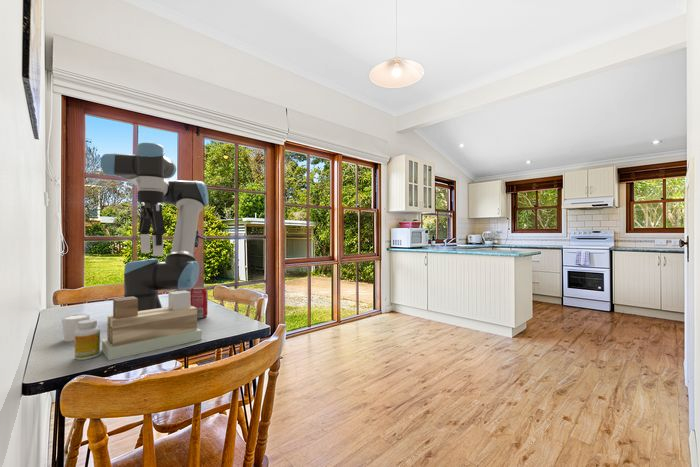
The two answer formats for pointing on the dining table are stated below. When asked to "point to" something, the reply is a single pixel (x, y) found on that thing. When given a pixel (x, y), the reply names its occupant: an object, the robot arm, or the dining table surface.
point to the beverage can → (200, 300)
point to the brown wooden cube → (125, 307)
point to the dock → (149, 344)
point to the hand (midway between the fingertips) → (151, 254)
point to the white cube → (179, 300)
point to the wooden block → (150, 325)
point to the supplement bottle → (87, 340)
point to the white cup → (72, 326)
